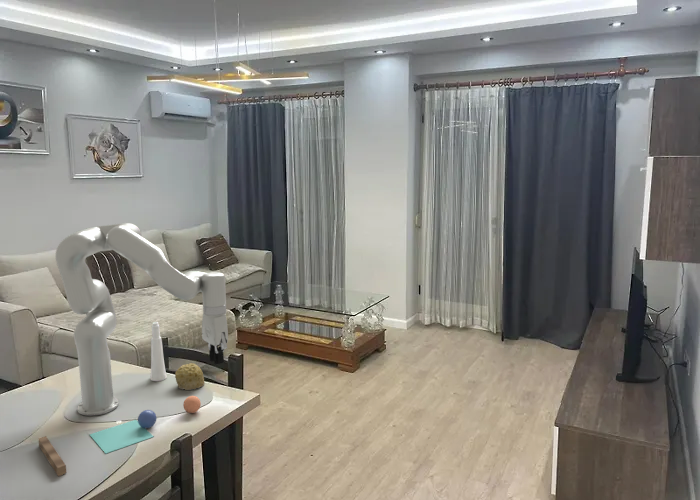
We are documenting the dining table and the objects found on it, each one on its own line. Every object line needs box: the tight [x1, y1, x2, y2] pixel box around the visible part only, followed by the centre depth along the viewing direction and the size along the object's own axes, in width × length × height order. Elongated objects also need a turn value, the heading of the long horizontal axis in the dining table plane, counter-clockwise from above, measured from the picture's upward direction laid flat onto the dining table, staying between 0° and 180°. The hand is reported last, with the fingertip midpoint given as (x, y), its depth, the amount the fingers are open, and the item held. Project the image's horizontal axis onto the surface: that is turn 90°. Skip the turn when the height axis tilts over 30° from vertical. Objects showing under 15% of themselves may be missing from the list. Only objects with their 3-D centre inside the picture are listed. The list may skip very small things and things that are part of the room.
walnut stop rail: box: [37, 435, 67, 477], centre depth 150 cm, size 20×2×2 cm, turn 42°
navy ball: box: [137, 409, 158, 429], centre depth 168 cm, size 6×6×6 cm
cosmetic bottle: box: [149, 321, 168, 382], centre depth 203 cm, size 6×6×22 cm
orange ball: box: [183, 395, 202, 414], centre depth 178 cm, size 6×6×6 cm
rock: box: [174, 362, 206, 391], centre depth 198 cm, size 10×11×10 cm
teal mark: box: [89, 419, 155, 454], centre depth 163 cm, size 14×14×1 cm
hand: (216, 361), depth 182 cm, fingers open, 2 cm apart
